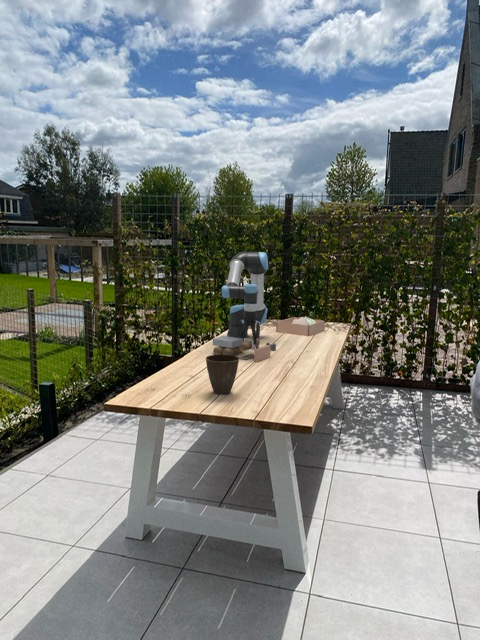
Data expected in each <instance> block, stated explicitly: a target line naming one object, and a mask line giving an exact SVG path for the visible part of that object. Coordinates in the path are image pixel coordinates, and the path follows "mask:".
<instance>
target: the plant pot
mask: <svg viewBox="0 0 480 640" xmlns="http://www.w3.org/2000/svg"><path fill="white" fill-rule="evenodd" d="M239 358H240V357H239V356H237V355H235V356H233V355H213V354H212V355H208V356H206V357H205V362H206V368H207V374H208V378H209V382H210V385H211V388H212V390H213V393H214V394H216V395H220V396H221V395H224V396H225V395H228V394H230V393H231V391H232V390H233V389H232V388H233V386H234V383H235V380H236V377H237V373H238V367H239V361H240V359H239Z"/></svg>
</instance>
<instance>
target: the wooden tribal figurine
mask: <svg viewBox="0 0 480 640" xmlns="http://www.w3.org/2000/svg"><path fill="white" fill-rule="evenodd" d="M298 318H299V319H298V320H297V319H295V320H293V322H292V323H293V324H302V325H307V324H309V325H311V324H314V323H316V322H315V321H314V320H315V319H314V320H313V319H312V318H310V317H307V316H300V317H298Z"/></svg>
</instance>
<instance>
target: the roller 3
mask: <svg viewBox="0 0 480 640" xmlns="http://www.w3.org/2000/svg"><path fill="white" fill-rule="evenodd" d="M258 346H259V347H260V340H259V339H257V340H256V345H255V348H256V347H258ZM239 349H240V350H241V351H243V352H247V351H249V350H252V339H251V340H249V341H248V340H247V342H244V343H243V342H242V343H241V344H240V345H239Z"/></svg>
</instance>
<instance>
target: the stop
mask: <svg viewBox="0 0 480 640" xmlns="http://www.w3.org/2000/svg"><path fill="white" fill-rule="evenodd" d="M270 350H271V346H270V345H267V346H266V345H264V346H262V347H261V346H260V347H259V348H258V349H255V350H253V353H254V354H253V356H254V357H253V362H255V363H258V362H261V361H263V360H266V359H269V358H270V357H271V351H270Z"/></svg>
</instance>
